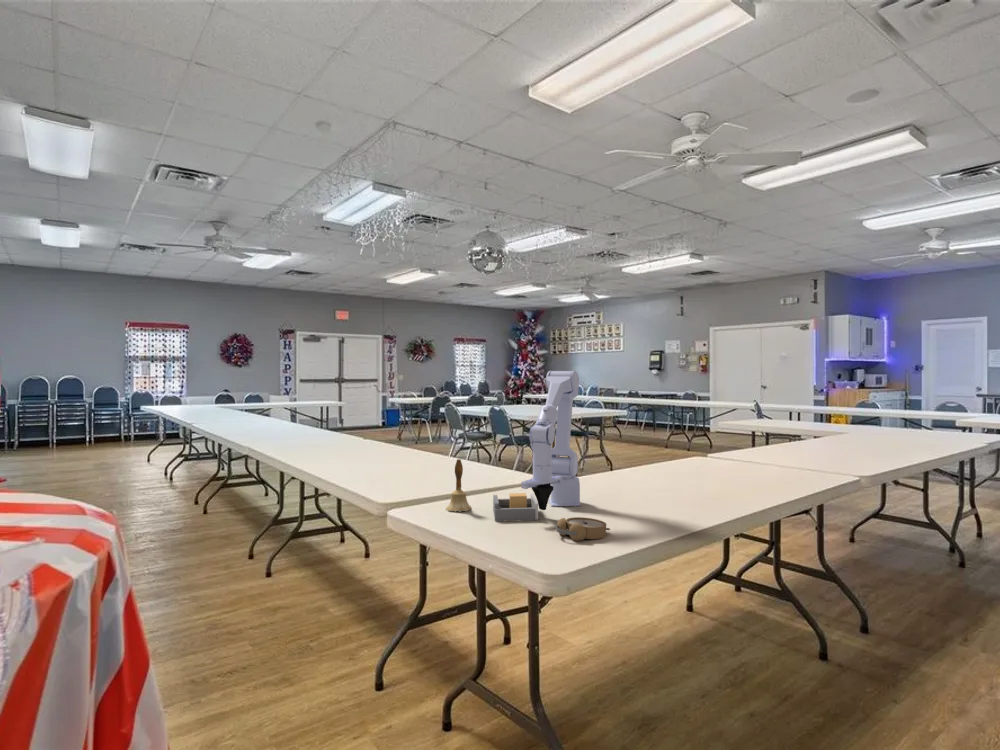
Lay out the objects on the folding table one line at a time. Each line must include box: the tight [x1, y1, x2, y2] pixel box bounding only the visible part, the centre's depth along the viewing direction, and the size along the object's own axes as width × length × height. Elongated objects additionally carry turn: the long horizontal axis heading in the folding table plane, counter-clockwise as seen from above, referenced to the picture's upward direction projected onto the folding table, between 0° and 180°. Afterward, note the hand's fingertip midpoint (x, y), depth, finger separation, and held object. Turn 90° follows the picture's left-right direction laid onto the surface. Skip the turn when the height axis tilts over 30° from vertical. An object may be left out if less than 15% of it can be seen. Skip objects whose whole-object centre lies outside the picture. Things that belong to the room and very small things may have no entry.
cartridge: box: [509, 492, 528, 508], centre depth 174 cm, size 5×4×5 cm
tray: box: [499, 493, 539, 521], centre depth 174 cm, size 11×13×5 cm
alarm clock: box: [555, 516, 611, 542], centre depth 153 cm, size 11×5×15 cm
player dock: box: [492, 494, 536, 522], centre depth 174 cm, size 12×13×5 cm
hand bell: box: [445, 458, 473, 513], centre depth 182 cm, size 8×8×16 cm
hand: (542, 509), depth 171 cm, fingers closed
